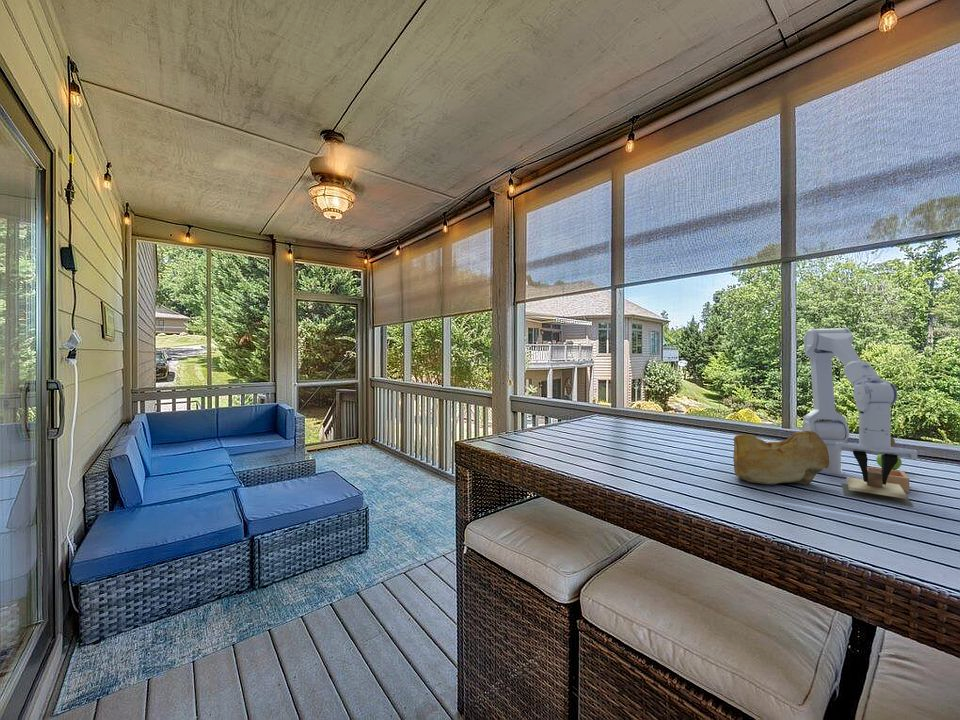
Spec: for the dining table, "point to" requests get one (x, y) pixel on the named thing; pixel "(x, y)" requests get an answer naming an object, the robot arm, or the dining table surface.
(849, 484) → the lid
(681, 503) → the dining table surface
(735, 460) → the rough brown rock
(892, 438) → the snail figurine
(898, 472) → the tan square open box
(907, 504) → the mat
